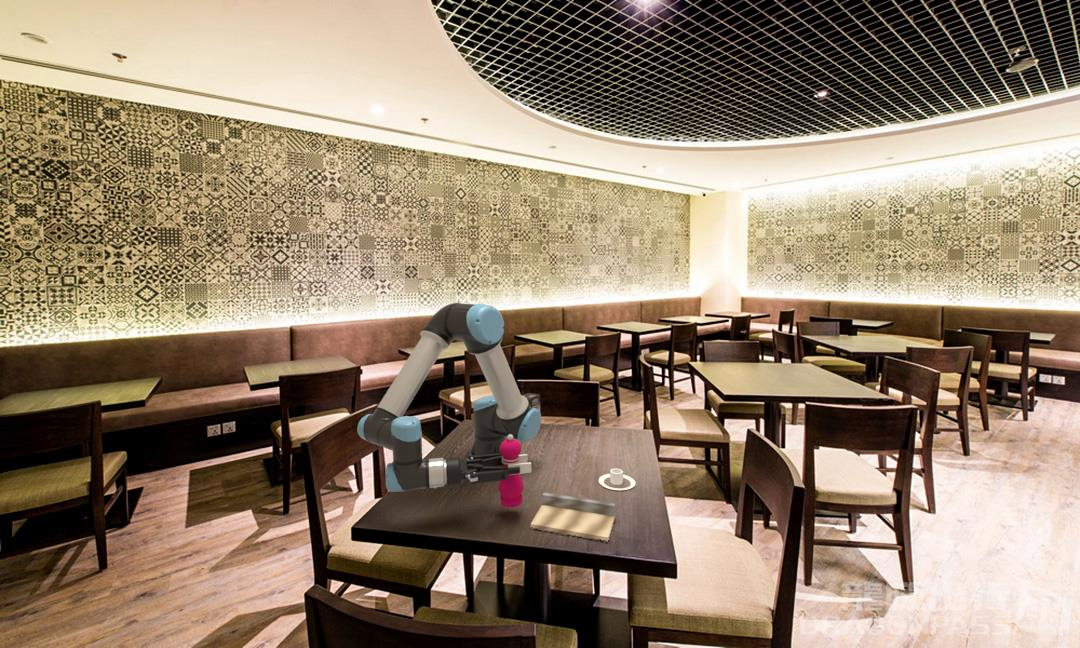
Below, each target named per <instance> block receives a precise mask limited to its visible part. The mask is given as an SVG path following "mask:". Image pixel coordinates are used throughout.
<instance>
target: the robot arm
mask: <svg viewBox="0 0 1080 648" xmlns="http://www.w3.org/2000/svg"><path fill="white" fill-rule="evenodd" d="M504 327H505V322H504V318H503V315H502V314H501V312H500V310H498V308H496V307H495V306H492V305H489V304H484V303H477V304H476V303H475V304H474V303H473V304H472V303H461V302H453V303H449V304H447V305H445V306H443V307H442V308H440V309H439V310H437V312H436V313H434V315H433V316H432V317H431V318H430V319H429V320H428V321H427V323H425V325H424V327H423V328H422V330H421V331H420V337H421V338H420V339H419V340H418V343H417V344H416V345H415V347H414V348H413V350H412V351H411V353H410V355H409V357H408V358H407V360H406V361H405V363H404V364H403V366H402V367H401V369H400V371H399V372H398V374H397V375H396V376H395V379H394V380H393V382H392V383H391V385H390V386H389V388H388V389H387V390H386V393H385V394H384V395H383V397H382V399H381V401H380V402H379V403H378V405H377V407H376V408H375V410H374V411H373V413H367V414H365V415H364V416H363V417H361V419H359V421H358V424H357V427H356V430H357V434H358V436H359V438H361V439H362V440H364V441H366V442H368V443H369V444H374V445H377V446H379V447H382V448H385V449H387V450H390V451H392V459H393V460H392V462H389V463H387V464H386V467H385V487H386V490H387V491H388V492H390V493H392V492H394V493H396V492H407V491H414V490H423V489H437V488H442V487H445V486H448V487H452V486H454V487H455V486H459V485H461V483H462V480H466V481H468V480H469V482H470V483H469V484H470V485H472V486H473V485H476V484H482V483H489V482H491V483H492V482H500V480H507V479H508V475H514V474H520V475H522V474H529V473H530V474H531V473H532V462H528V454H527V453H523V454H519V457H520V458H519V460H520V461H519V462H518V464H509V465H508V467H507V466H504V465H503V463H502V455H501V453H500V445H501V443H502V442H503V441H504V440H507V436H508V435H509V434H511V435H513V439H515V440H517V441H518V442H519V441H523V442H530V441H532V440H533V439H534V438H535V437H536V436H537V434H538V432H539V431H540V430H539V428H540V429H541V423H542V414H541V410H540V411H539V410H538V409H536V408H531V407H530V404H529V402H528V400H527V398H526V397H525V396H522V395H523V394H521V392H520V389H519V388H518V387H519V386H518V385H517V382H516V380H515V377H514V375H513V373H512V372H513V371H511V367H510V366H509V363H508V360H507V358H506V355H505V353H504V350H503V348H502V346H501V343H502V341H503V335H504V332H505V328H504ZM453 341H462V342H463V344H464V346H465V348H466V350H467V352H468V353H469V354H471V355H475V358H476V360H477V363H478V365H479V367H480V369H481V371H482V374H483V376H484V377H485V378H484V379H485V380H486V382H487V384H488V386H489V389H490V391H491V394H492V395H488V396H487V395H486V396H482V397H479V398H477V399H475V401H474V403H473V411H472V412H473V432H474V433H473V434H474V439H473V442H472V445H471V449H470V451H469V452H470V453H469V455H467V457H466V459H465V460H461V459H460V457H459V456H447V457H446V459H445V458H444V457H436V458H426V459H423V444H422V443H423V440H422V439H423V438H422V437H423V436H422V435H423V432H422V426H421V421H420V419H419V417H416V416H409V415H405V416H404V414H405V413H406V411H407V409H408V408H409V406H410V405H411V403H412V402H413V400H414V397H415V396H416V395H417V393H418V391H419V390H420V388H421V386H422V385H423V383H424V381H425V380H426V378H427V376H428V375H429V373H430V371H431V370H432V368H433V367H434V364H435V363H436V362H437V360H438V358H439V356H441V355H440V354H441V353H442V352H443V350H447V349H448V348H449V346H450V345H451V343H452V342H453ZM538 430H539V431H538Z"/></svg>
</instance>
